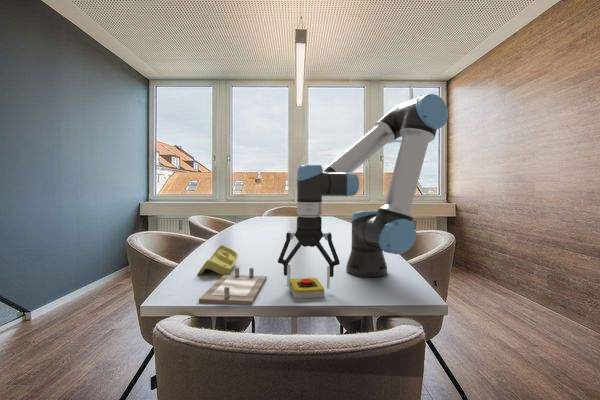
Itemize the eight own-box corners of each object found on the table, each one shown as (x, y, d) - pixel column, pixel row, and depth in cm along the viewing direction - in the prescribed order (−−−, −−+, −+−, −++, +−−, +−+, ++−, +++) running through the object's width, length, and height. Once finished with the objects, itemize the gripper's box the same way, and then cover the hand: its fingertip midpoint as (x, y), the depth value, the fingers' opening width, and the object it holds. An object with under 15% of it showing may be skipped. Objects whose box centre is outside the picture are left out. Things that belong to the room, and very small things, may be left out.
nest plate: (224, 277, 111) (224, 266, 111) (266, 278, 110) (266, 267, 110) (198, 302, 88) (198, 288, 88) (252, 304, 87) (252, 290, 87)
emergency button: (294, 288, 89) (287, 273, 104) (294, 303, 89) (287, 286, 104) (326, 286, 91) (315, 272, 106) (326, 301, 91) (315, 284, 106)
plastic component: (230, 270, 113) (204, 258, 112) (221, 287, 113) (196, 276, 113) (240, 253, 132) (218, 243, 132) (232, 268, 133) (211, 258, 132)
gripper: (268, 216, 93) (268, 289, 94) (349, 217, 92) (348, 291, 93) (272, 213, 101) (271, 281, 102) (347, 215, 99) (346, 283, 100)
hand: (308, 286), depth 97 cm, fingers open, 11 cm apart
